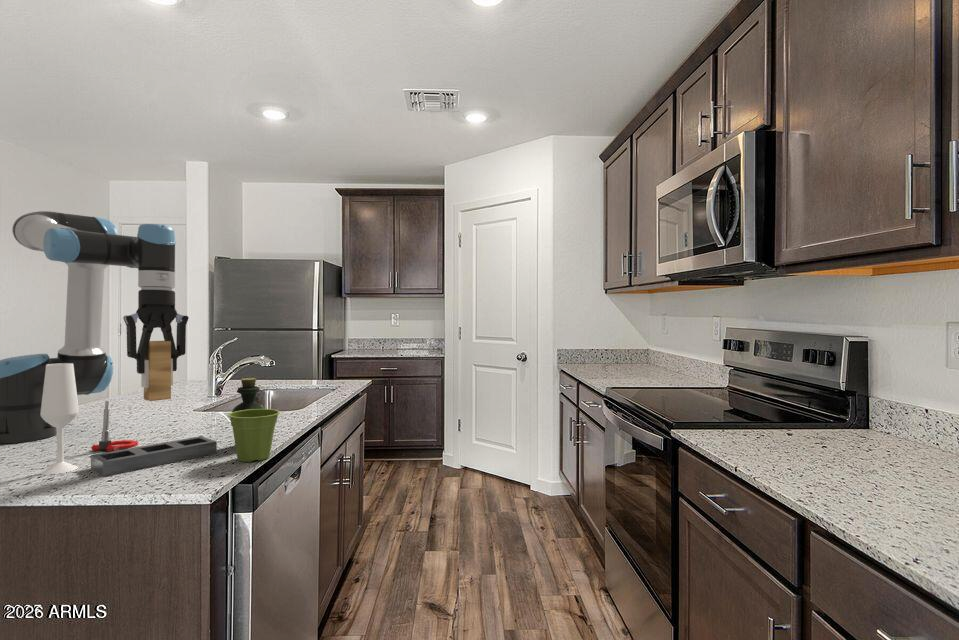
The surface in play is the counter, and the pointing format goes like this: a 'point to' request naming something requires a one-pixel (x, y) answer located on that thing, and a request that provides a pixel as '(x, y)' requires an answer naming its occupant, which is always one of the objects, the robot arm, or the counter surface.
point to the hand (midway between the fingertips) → (157, 385)
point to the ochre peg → (159, 371)
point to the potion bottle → (248, 395)
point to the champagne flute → (59, 408)
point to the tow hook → (105, 442)
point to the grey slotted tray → (152, 455)
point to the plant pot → (253, 432)
